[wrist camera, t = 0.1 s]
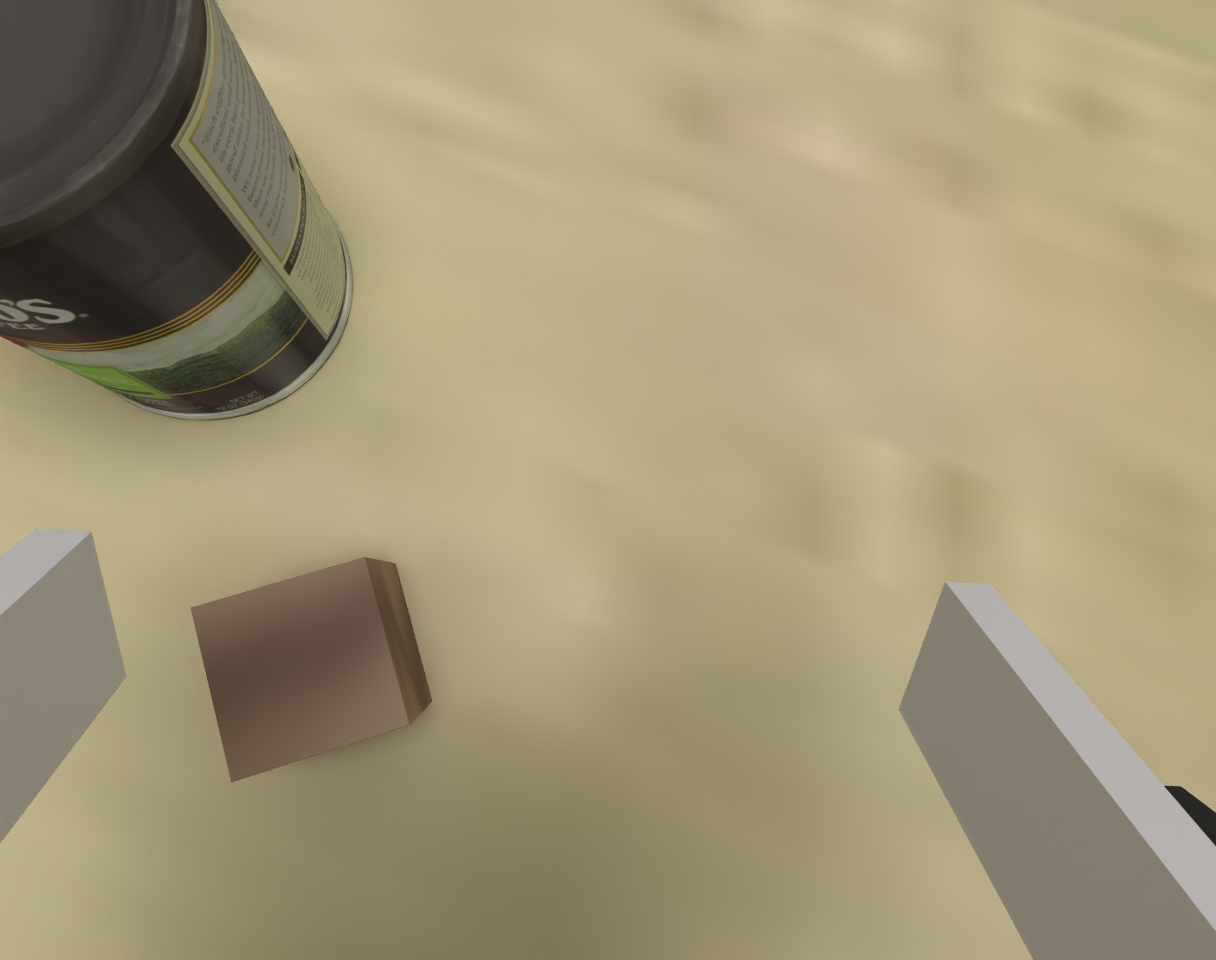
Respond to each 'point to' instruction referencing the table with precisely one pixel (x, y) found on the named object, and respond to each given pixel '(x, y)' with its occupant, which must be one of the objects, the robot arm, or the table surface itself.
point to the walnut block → (310, 664)
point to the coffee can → (158, 210)
